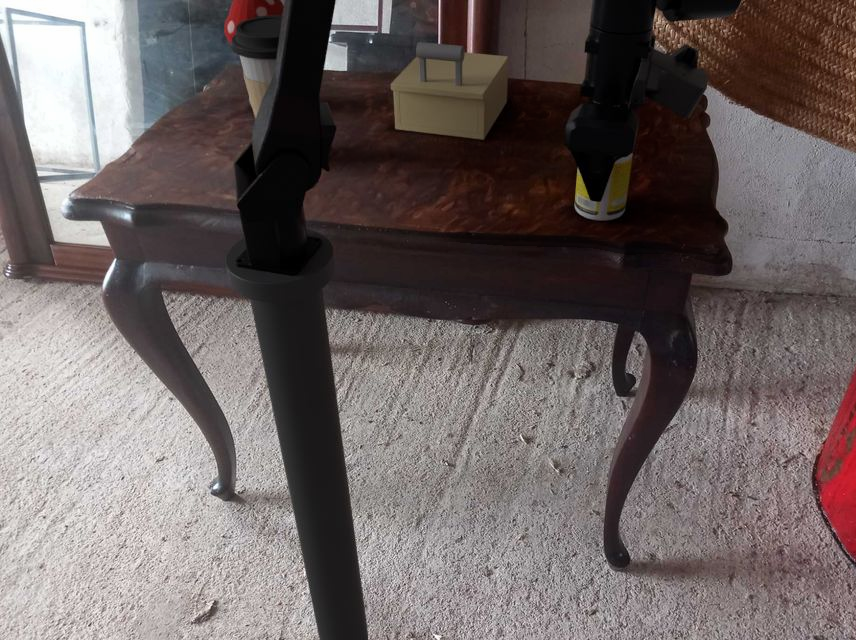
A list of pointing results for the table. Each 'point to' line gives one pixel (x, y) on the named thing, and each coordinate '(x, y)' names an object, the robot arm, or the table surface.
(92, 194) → the table surface
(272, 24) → the coffee cup
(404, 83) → the lid
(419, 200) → the table surface
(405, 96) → the wooden box
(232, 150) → the table surface
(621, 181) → the supplement bottle
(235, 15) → the decorative mushroom
